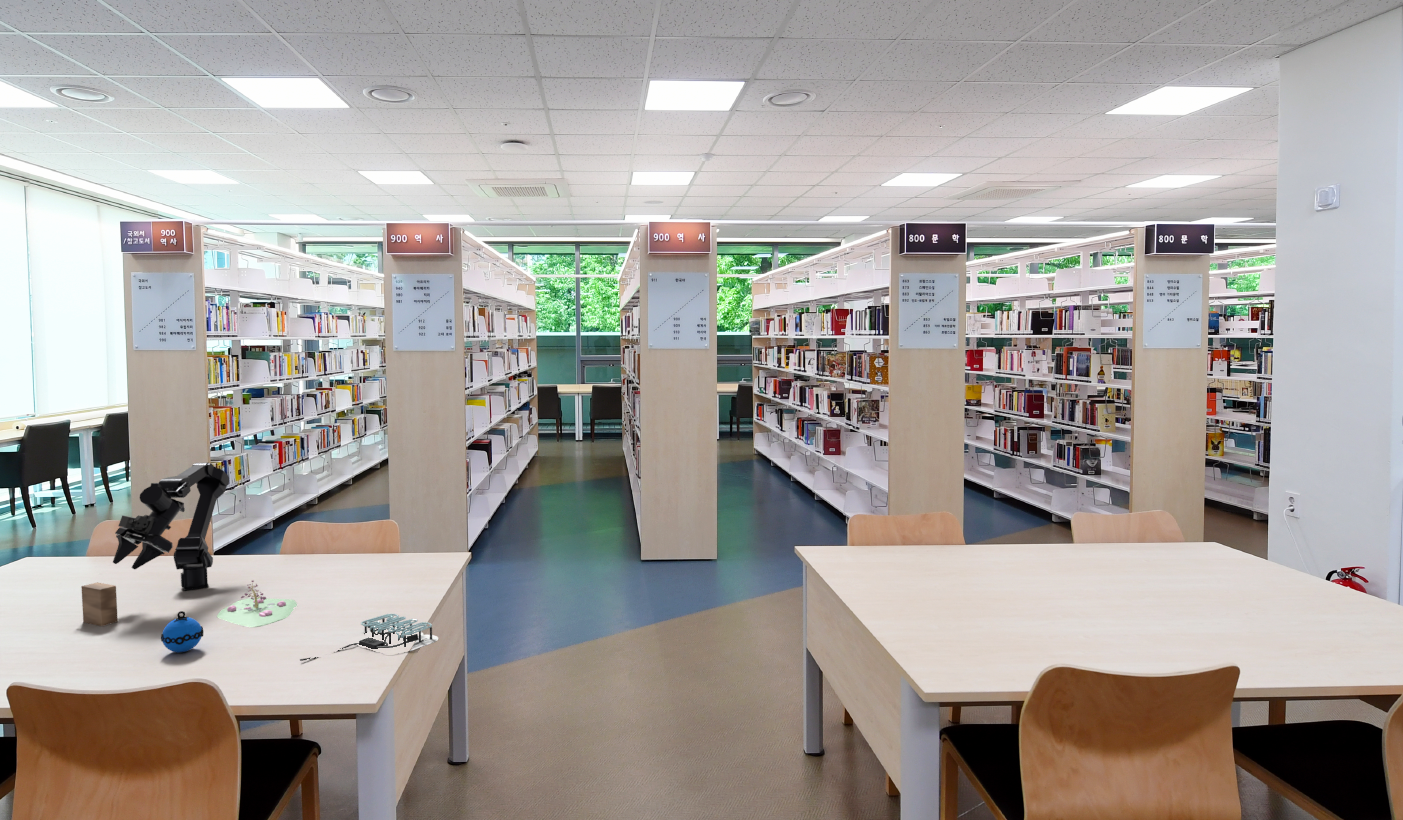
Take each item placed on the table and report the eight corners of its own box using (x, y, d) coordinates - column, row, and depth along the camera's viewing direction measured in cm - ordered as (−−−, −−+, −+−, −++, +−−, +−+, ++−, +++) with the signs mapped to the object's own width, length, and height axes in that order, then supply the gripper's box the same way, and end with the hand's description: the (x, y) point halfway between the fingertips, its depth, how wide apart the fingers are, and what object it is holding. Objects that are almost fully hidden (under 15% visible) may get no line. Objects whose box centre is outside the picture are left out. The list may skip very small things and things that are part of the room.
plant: (313, 617, 226) (312, 585, 225) (230, 634, 212) (228, 600, 211) (286, 597, 244) (285, 567, 243) (207, 612, 230) (206, 580, 229)
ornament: (159, 660, 193) (157, 619, 192) (165, 648, 200) (163, 608, 200) (201, 654, 196) (199, 614, 196) (205, 643, 204) (204, 604, 203)
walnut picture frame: (99, 617, 223) (97, 582, 223) (118, 621, 220) (116, 585, 220) (83, 622, 220) (81, 586, 219) (101, 626, 216) (100, 589, 216)
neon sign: (286, 643, 194) (391, 610, 219) (286, 660, 194) (391, 625, 219) (339, 661, 182) (444, 624, 207) (340, 679, 183) (444, 640, 208)
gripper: (118, 499, 233) (80, 547, 225) (157, 507, 225) (118, 557, 217) (150, 518, 241) (114, 565, 233) (188, 527, 233) (152, 576, 225)
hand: (123, 566), depth 227 cm, fingers open, 9 cm apart
